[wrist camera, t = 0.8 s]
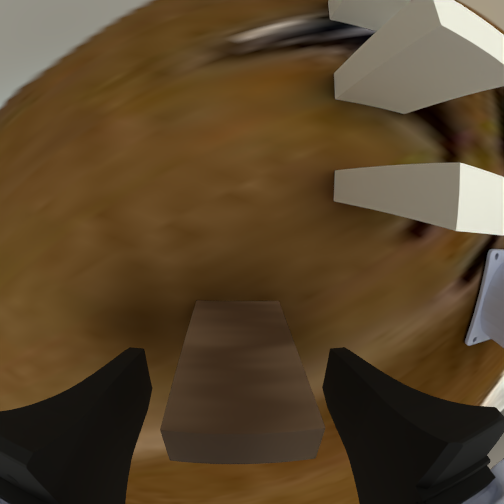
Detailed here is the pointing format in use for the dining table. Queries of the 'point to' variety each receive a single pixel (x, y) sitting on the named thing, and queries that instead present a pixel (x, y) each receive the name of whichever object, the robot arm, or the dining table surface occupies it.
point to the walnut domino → (240, 389)
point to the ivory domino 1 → (365, 12)
